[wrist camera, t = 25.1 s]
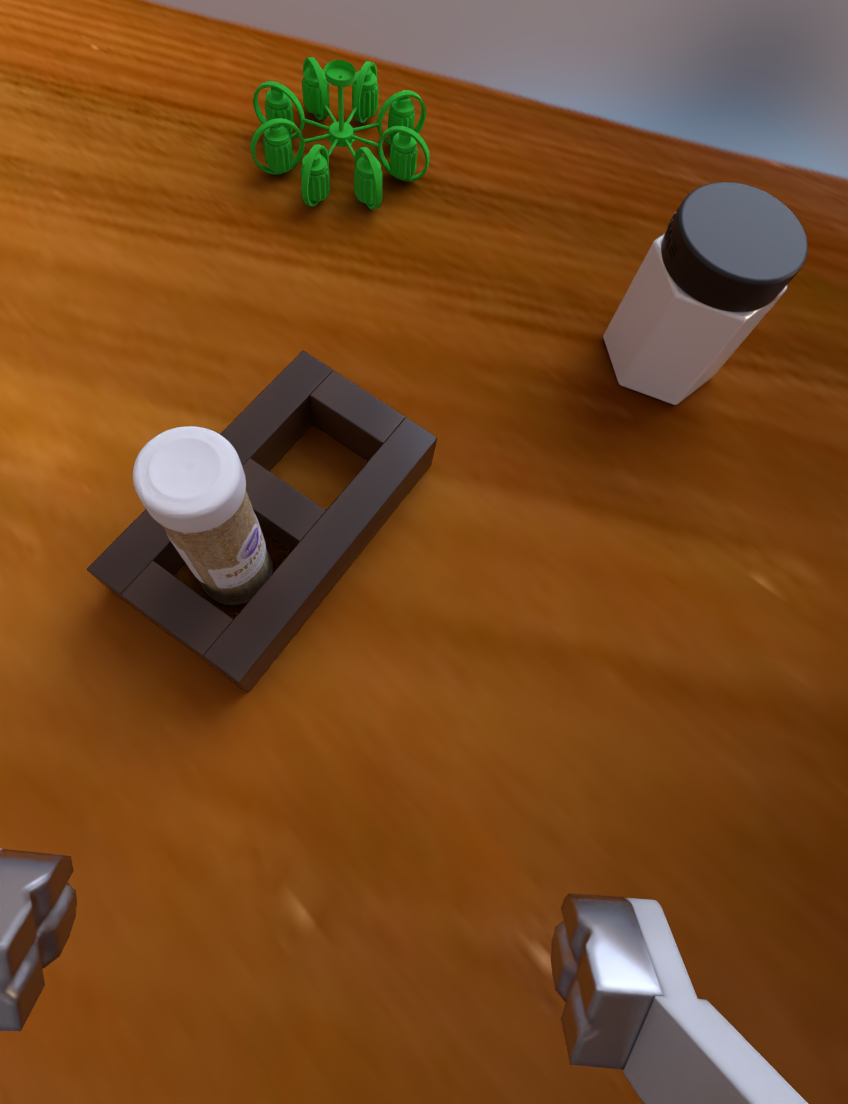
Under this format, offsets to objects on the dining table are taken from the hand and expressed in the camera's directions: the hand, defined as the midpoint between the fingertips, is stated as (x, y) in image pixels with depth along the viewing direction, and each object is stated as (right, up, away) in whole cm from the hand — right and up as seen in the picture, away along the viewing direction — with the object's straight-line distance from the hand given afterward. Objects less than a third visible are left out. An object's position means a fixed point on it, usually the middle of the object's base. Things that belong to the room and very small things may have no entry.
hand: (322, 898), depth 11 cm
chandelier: (-5, +39, +44) cm, 58 cm away
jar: (+20, +21, +39) cm, 49 cm away
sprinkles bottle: (-10, +4, +30) cm, 32 cm away
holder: (-8, +8, +31) cm, 33 cm away
